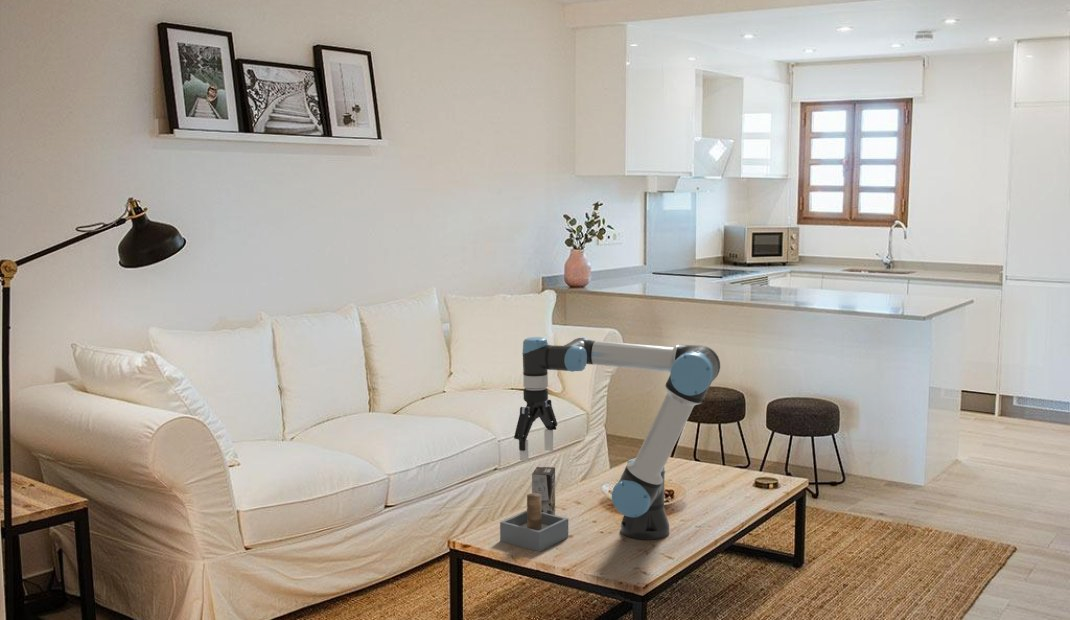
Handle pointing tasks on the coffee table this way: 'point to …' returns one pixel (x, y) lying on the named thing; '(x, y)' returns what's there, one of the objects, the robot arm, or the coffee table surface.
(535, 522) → the peg
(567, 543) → the coffee table surface
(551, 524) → the bin
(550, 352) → the robot arm
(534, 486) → the coffee box
